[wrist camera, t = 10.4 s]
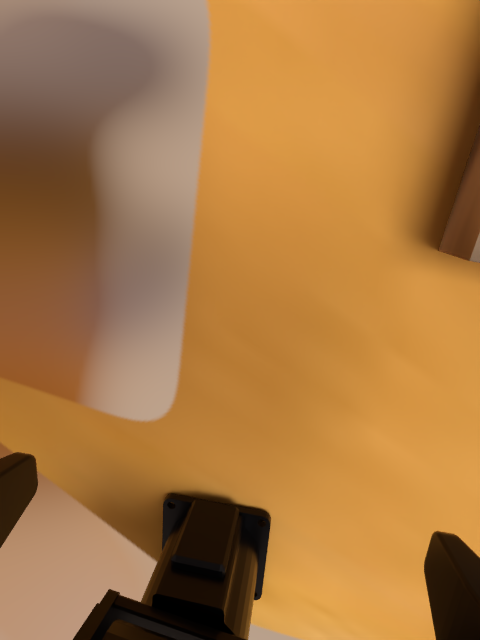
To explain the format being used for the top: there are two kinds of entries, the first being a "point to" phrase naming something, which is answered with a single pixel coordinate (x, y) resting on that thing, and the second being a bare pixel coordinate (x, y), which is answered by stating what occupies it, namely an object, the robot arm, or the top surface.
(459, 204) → the walnut block
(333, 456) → the top surface
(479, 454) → the top surface
